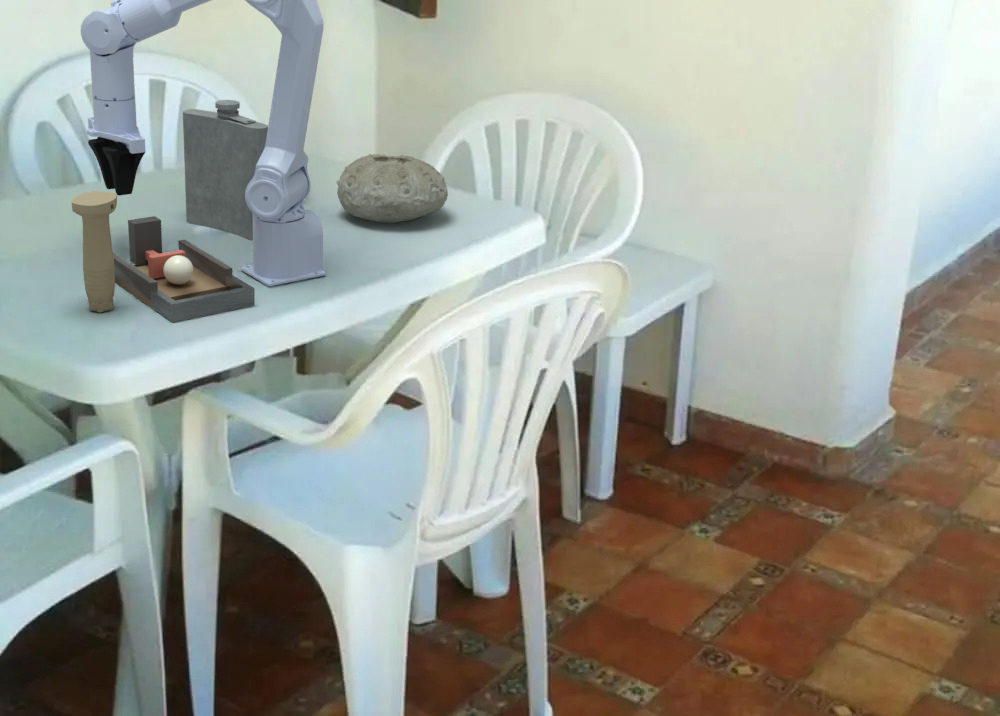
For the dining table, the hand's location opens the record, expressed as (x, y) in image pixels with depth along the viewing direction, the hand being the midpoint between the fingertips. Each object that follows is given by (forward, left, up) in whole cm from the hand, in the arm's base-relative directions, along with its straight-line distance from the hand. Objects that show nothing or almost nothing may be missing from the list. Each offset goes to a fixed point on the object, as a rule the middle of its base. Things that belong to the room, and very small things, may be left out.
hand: (119, 191), depth 192 cm
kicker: (0, +11, -8) cm, 14 cm away
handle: (+12, +19, -10) cm, 24 cm away
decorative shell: (-45, +4, -10) cm, 46 cm away
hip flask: (-19, -3, -10) cm, 21 cm away
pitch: (0, +15, -9) cm, 18 cm away
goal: (0, +25, -9) cm, 26 cm away
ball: (0, +18, -6) cm, 19 cm away
